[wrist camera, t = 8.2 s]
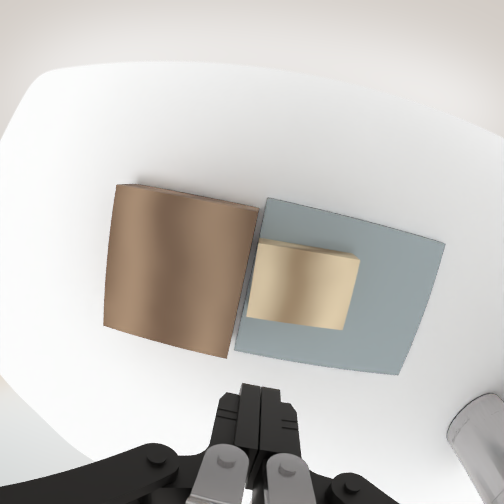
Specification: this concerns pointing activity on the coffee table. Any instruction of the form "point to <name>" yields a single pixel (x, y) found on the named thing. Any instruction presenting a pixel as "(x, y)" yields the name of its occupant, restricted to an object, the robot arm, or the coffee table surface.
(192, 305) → the block
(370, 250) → the grey mat
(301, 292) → the oak tile
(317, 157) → the coffee table surface
